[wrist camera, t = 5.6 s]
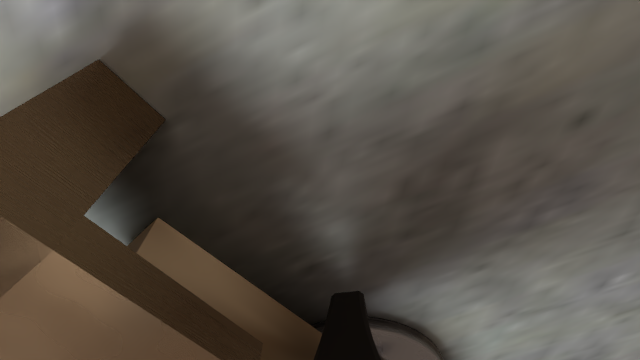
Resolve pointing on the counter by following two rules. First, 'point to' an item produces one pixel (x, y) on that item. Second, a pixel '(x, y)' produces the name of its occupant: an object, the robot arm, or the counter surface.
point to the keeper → (88, 239)
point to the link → (228, 293)
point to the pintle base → (397, 341)
